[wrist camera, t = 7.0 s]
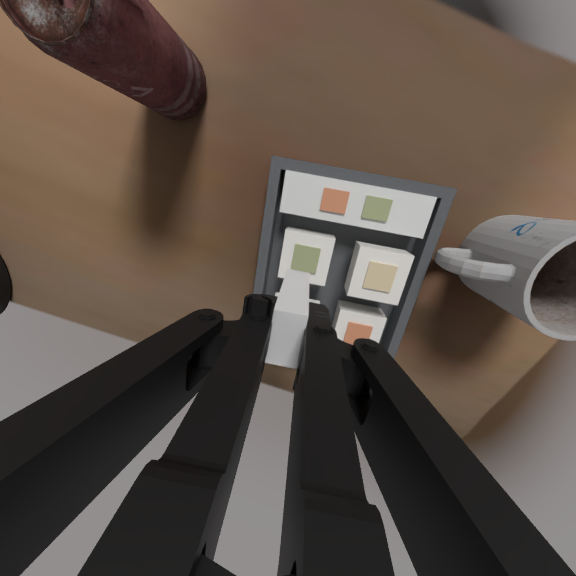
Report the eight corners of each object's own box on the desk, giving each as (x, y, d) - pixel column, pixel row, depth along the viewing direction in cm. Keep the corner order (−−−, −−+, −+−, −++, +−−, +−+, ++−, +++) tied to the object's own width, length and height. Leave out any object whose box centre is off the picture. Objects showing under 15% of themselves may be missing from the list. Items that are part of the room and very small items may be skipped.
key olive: (280, 270, 30) (277, 277, 27) (288, 226, 29) (285, 229, 26) (323, 278, 30) (324, 287, 27) (333, 234, 28) (335, 239, 26)
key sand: (344, 286, 29) (347, 296, 26) (356, 240, 27) (360, 246, 24) (390, 295, 28) (398, 306, 26) (405, 250, 27) (415, 256, 24)
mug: (563, 228, 27) (698, 246, 17) (515, 303, 30) (608, 353, 20) (445, 194, 27) (516, 194, 17) (410, 272, 30) (453, 308, 20)
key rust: (328, 336, 32) (330, 350, 30) (338, 299, 31) (340, 310, 28) (369, 344, 32) (374, 359, 29) (380, 308, 31) (387, 319, 28)
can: (219, 108, 26) (122, 21, 13) (163, 129, 27) (21, 67, 14) (197, 35, 24) (58, -153, 11) (138, 60, 25) (-51, -84, 12)
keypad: (252, 329, 34) (245, 342, 31) (276, 159, 27) (271, 154, 24) (383, 355, 33) (390, 372, 30) (442, 189, 27) (459, 188, 23)
